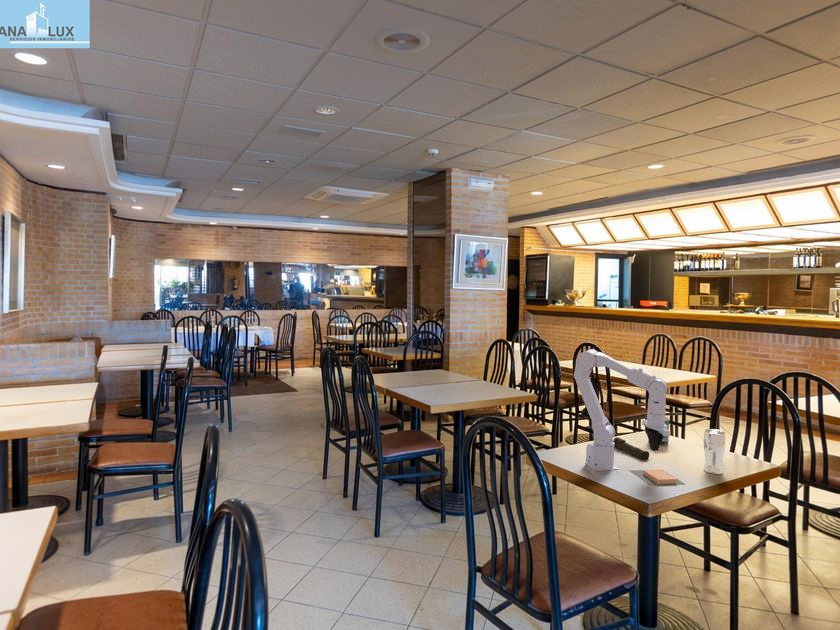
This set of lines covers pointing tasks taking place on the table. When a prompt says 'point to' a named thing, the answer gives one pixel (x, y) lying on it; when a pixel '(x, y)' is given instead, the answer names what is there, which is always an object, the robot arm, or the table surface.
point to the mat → (640, 474)
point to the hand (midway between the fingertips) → (654, 450)
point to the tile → (660, 476)
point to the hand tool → (630, 449)
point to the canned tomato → (665, 439)
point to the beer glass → (714, 450)
